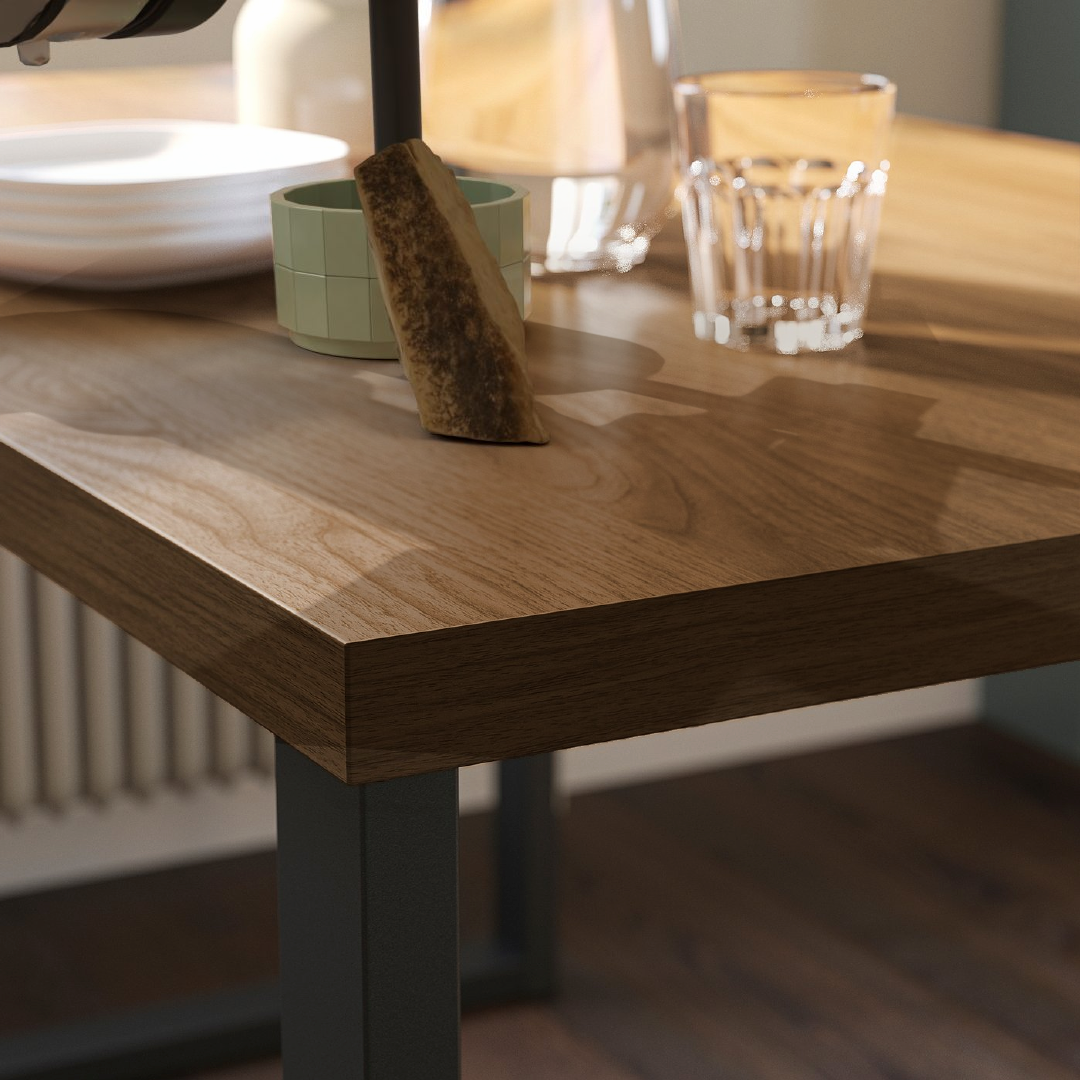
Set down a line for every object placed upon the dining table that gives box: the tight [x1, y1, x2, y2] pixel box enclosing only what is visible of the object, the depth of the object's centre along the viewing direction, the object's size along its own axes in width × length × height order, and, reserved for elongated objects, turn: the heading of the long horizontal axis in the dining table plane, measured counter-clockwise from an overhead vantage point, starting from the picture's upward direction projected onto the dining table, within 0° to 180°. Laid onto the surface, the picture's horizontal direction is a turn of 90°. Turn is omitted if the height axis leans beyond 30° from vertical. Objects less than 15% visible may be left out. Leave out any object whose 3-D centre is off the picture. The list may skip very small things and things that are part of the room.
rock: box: [353, 138, 551, 445], centre depth 63 cm, size 11×9×10 cm
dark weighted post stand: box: [367, 0, 423, 154], centre depth 71 cm, size 5×5×24 cm
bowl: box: [268, 175, 532, 360], centre depth 74 cm, size 11×11×6 cm
